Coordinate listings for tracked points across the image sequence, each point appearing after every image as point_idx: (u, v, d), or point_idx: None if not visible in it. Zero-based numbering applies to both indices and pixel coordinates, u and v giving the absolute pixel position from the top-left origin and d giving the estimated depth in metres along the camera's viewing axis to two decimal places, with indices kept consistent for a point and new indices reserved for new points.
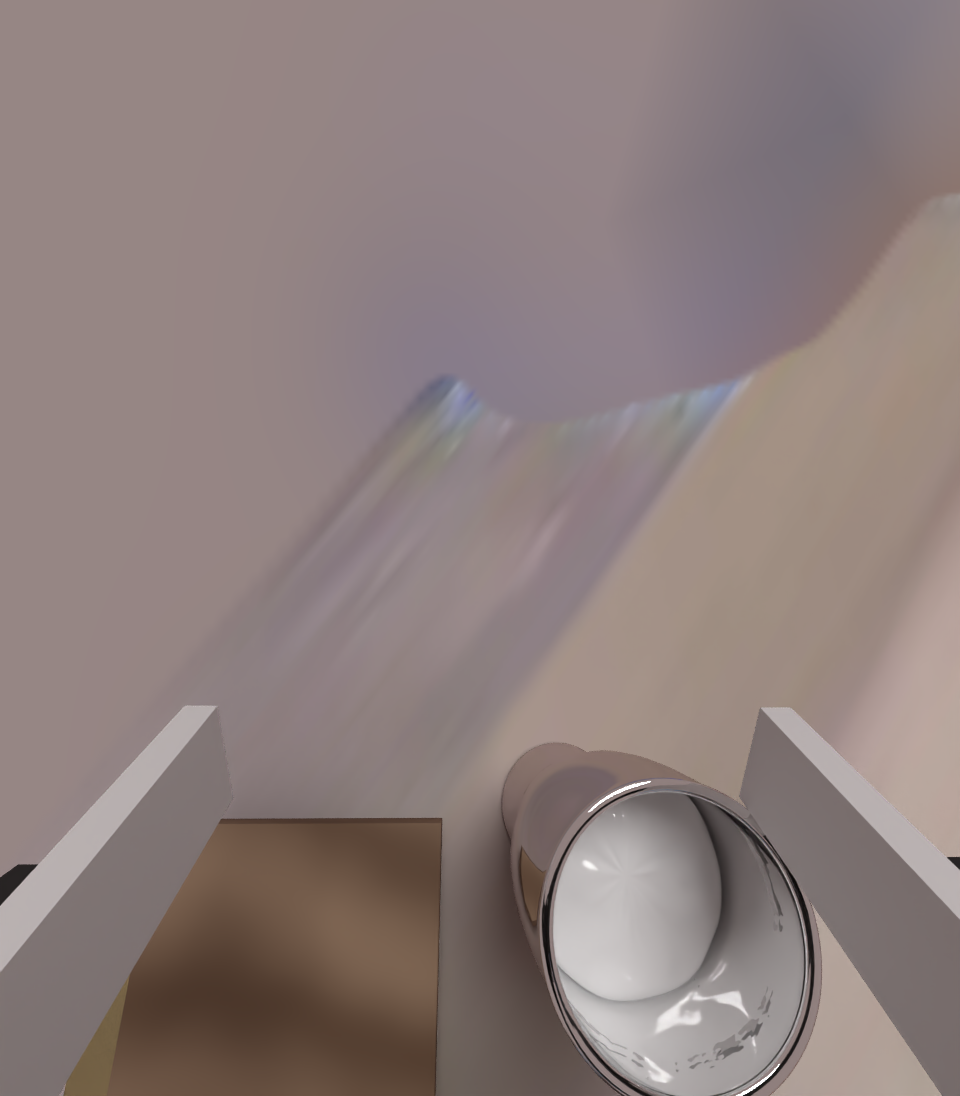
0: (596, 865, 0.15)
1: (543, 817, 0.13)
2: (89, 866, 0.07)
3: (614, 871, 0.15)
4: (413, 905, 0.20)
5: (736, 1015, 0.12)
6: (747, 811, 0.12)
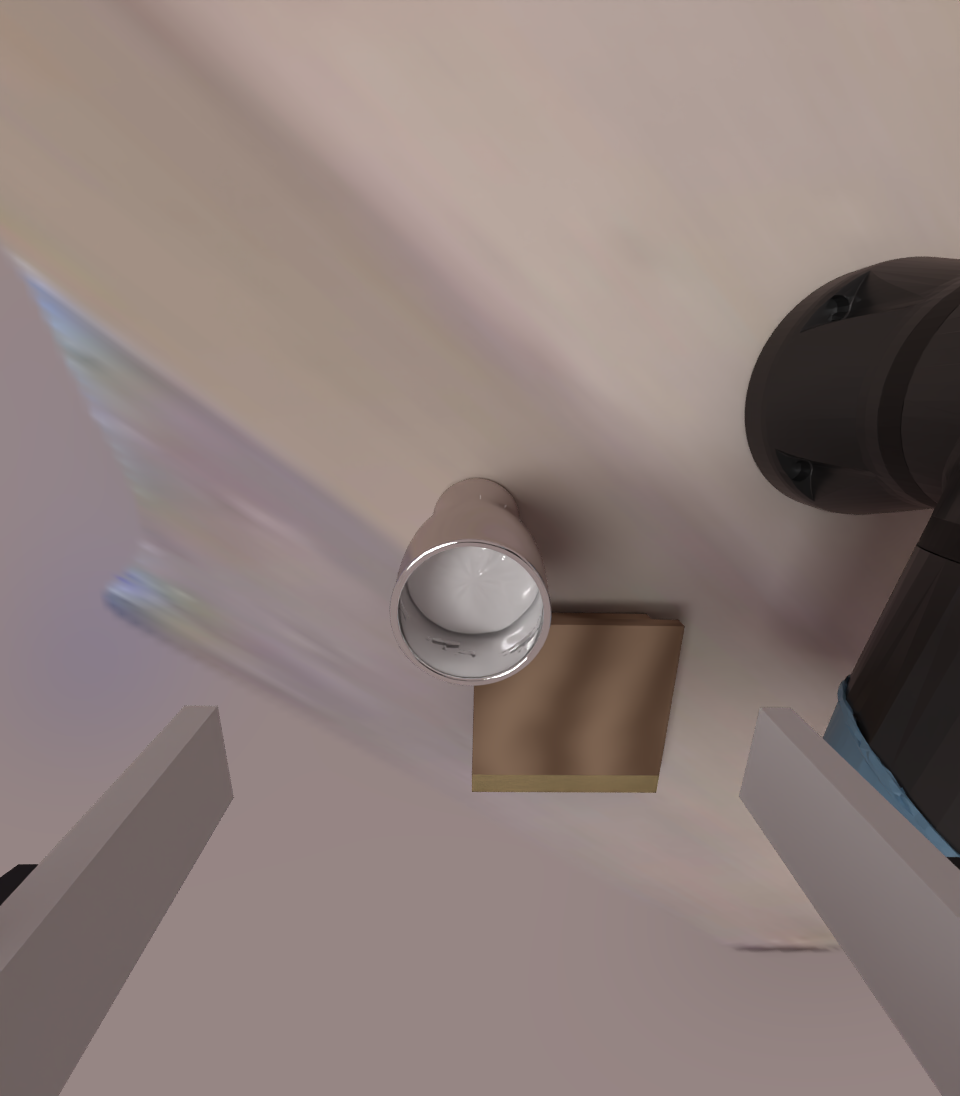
0: (467, 597, 0.23)
1: None
2: (90, 866, 0.07)
3: (470, 586, 0.23)
4: None
5: None
6: (405, 569, 0.18)
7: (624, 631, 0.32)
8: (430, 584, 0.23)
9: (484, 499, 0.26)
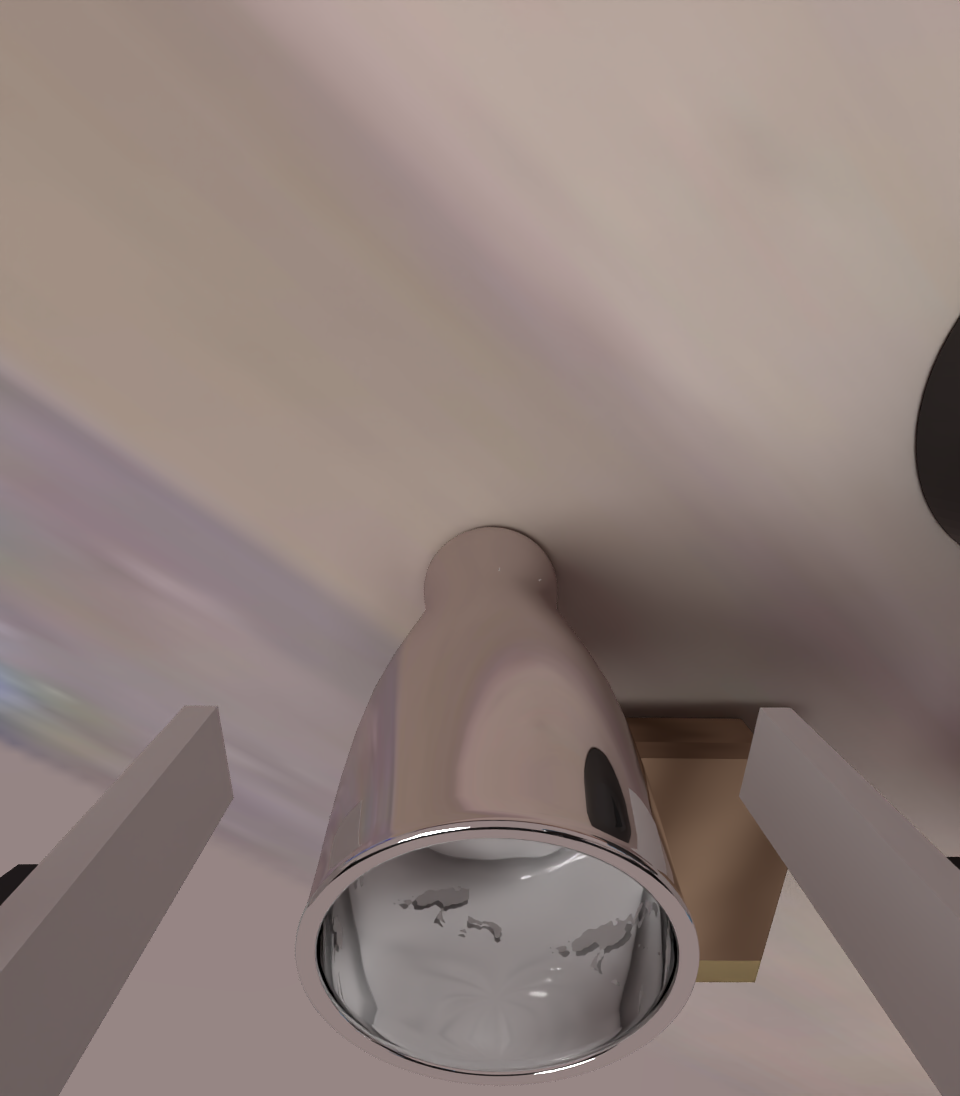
0: None
1: None
2: (89, 866, 0.07)
3: None
4: None
5: None
6: (326, 885, 0.07)
7: (723, 767, 0.20)
8: None
9: (508, 589, 0.15)
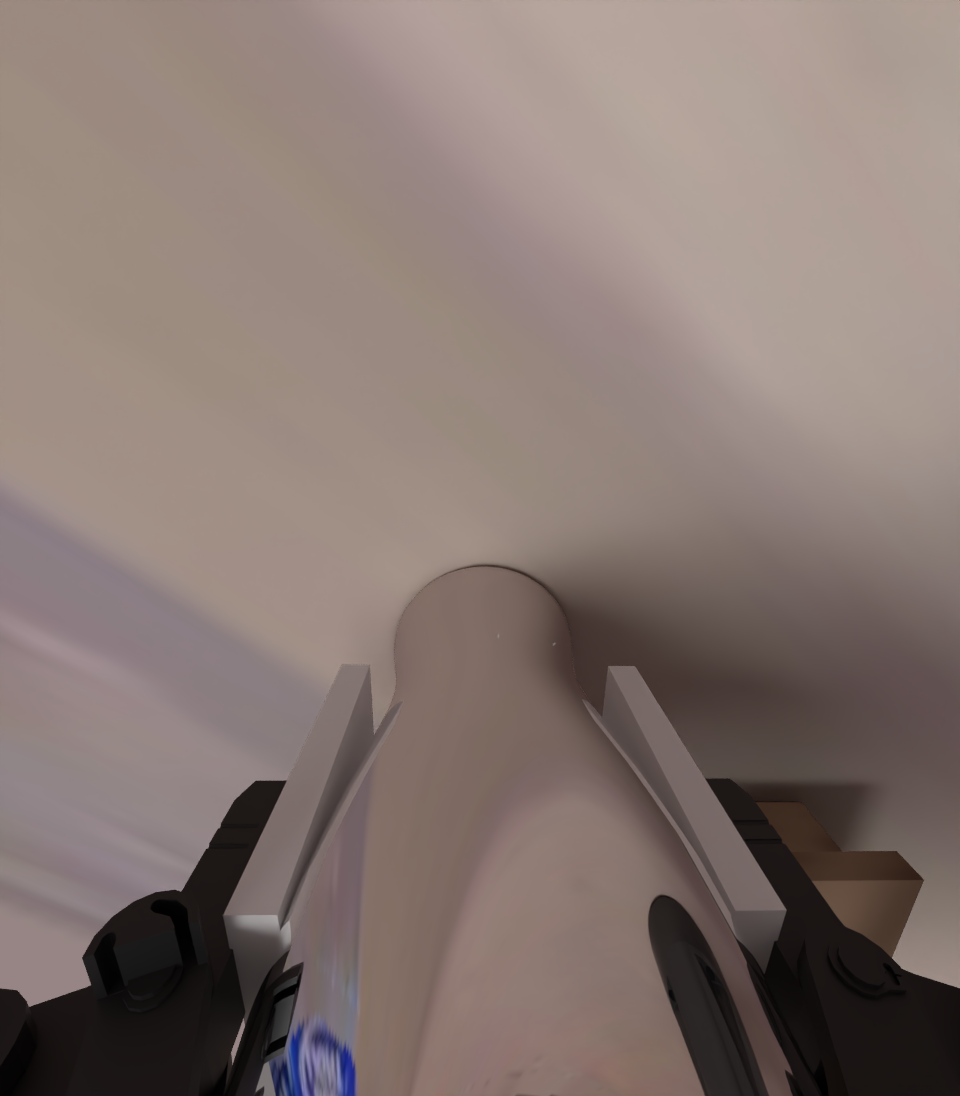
0: None
1: None
2: (328, 776, 0.09)
3: None
4: None
5: None
6: None
7: None
8: None
9: (518, 681, 0.09)
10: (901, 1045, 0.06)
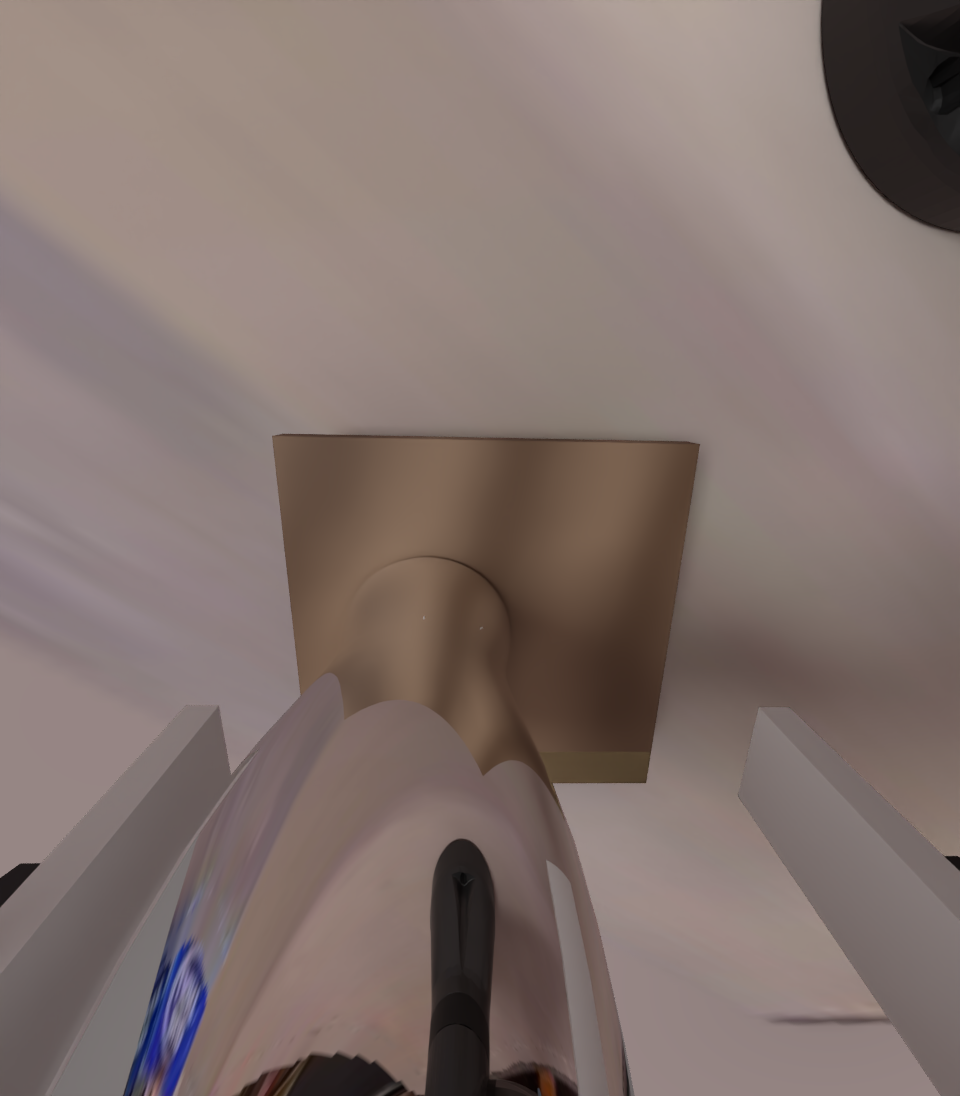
0: None
1: None
2: (91, 865, 0.07)
3: None
4: (370, 471, 0.16)
5: None
6: None
7: (578, 455, 0.16)
8: None
9: (424, 654, 0.10)
10: None
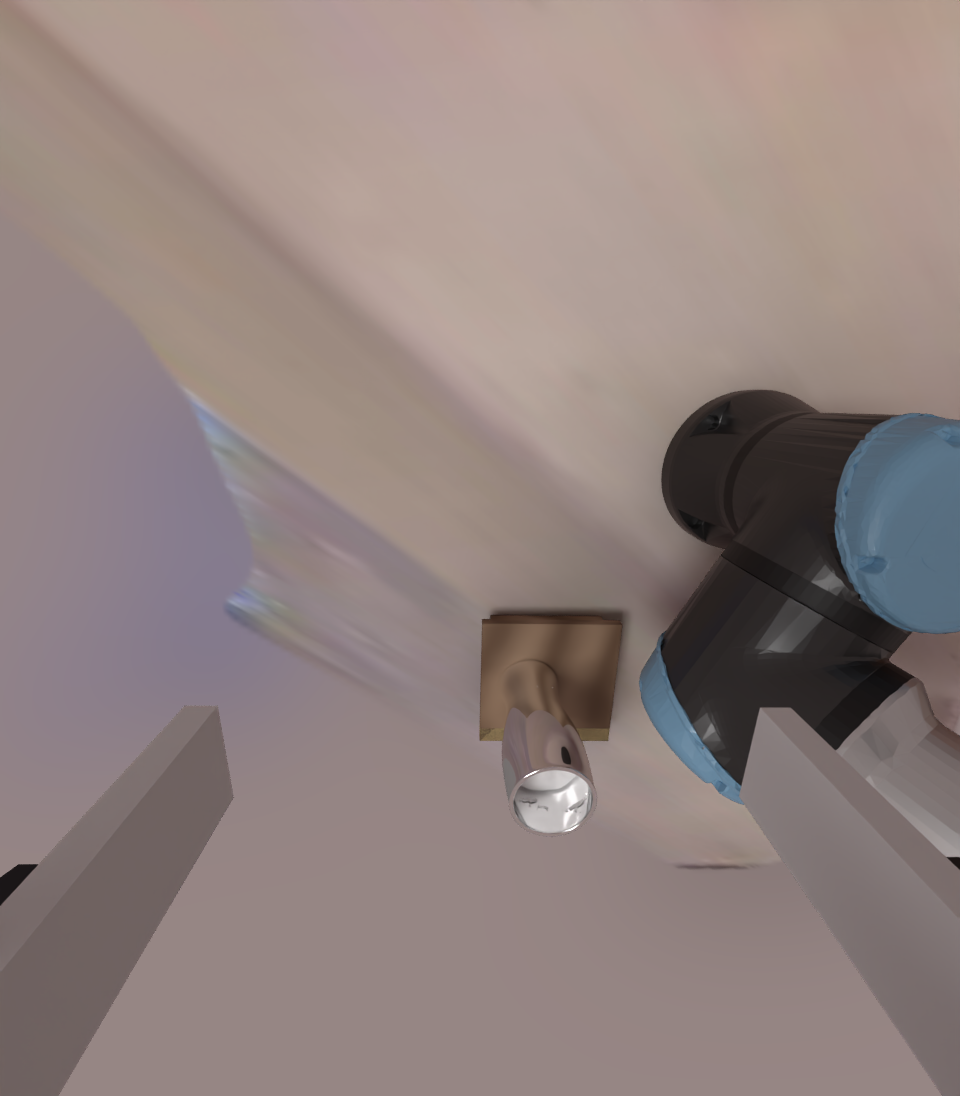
0: (541, 772, 0.39)
1: None
2: (89, 866, 0.07)
3: None
4: (513, 633, 0.47)
5: None
6: (519, 782, 0.34)
7: (582, 628, 0.47)
8: None
9: (544, 699, 0.42)
10: None
